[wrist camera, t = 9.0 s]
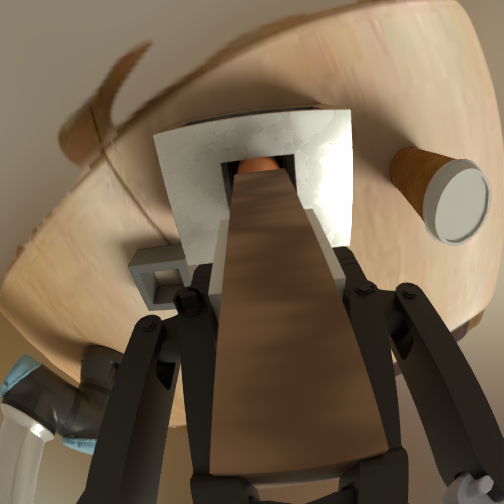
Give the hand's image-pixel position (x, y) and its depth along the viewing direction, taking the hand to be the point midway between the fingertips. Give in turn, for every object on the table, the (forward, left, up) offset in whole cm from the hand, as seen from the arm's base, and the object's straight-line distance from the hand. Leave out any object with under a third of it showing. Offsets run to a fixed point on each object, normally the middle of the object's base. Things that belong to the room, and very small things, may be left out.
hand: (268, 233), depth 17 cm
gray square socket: (-14, -13, -16) cm, 25 cm away
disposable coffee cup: (+20, -2, -16) cm, 26 cm away
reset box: (0, 0, -16) cm, 16 cm away
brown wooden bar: (0, 0, -7) cm, 7 cm away
